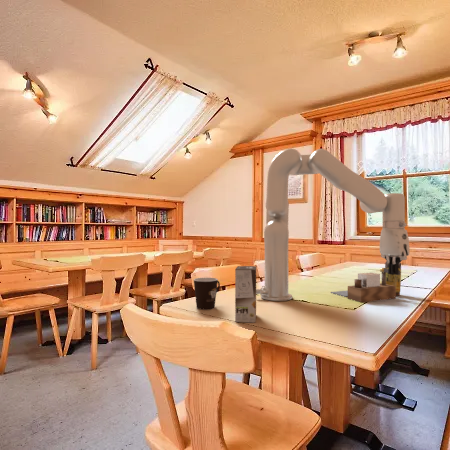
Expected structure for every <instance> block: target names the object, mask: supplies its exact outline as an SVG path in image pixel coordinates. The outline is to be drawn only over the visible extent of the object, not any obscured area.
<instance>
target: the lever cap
mask: <svg viewBox="0 0 450 450" xmlns="http://www.w3.org/2000/svg"><path fill="white" fill-rule="evenodd" d="M357 279H361V280H362V287H365V288H372V287H380V283H381V274H380V273H375V272H364V273H363V272H362V273H361V272H360V273H357Z"/></svg>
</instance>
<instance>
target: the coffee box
mask: <svg viewBox="0 0 450 450" xmlns="http://www.w3.org/2000/svg"><path fill="white" fill-rule="evenodd" d="M234 272H235V274H234V275H235V279H234V280H235V281H234V282H235V283H234V284H235V285H234V289H235V291H234V292H235V294H234V295H235V297H234V298H235V301H234V303H235V305H234V306H235V307H234V308H235V309H234V311H235V312H234V313H235V315H234V316H235V317H234V322H236V323H256V318H257V317H256V316H257V294H256V289H257V266H256V265H254V266H253V265H237V267H235V271H234Z"/></svg>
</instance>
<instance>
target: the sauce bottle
mask: <svg viewBox="0 0 450 450" xmlns="http://www.w3.org/2000/svg"><path fill="white" fill-rule="evenodd" d="M384 265H385V266H384V268H388V263H387V261H386V260H385V263H384ZM399 271H401V272H402V263H401V262H400V264H399ZM401 282H402V274H401V275H391V274H388V273H386V284H388V285H393V286H396V297H398V296H400V294H401V284H402V283H401Z"/></svg>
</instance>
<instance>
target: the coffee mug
mask: <svg viewBox="0 0 450 450" xmlns="http://www.w3.org/2000/svg"><path fill="white" fill-rule="evenodd" d="M193 285H194V286H193V287H194V294H195V303H196V309H198V310H204V311H207V310H213V309H215V307H216V299H217V298H216V297H217V293H218V292H219V289H220V288H221V283H220V281H219V279H218V278H216V277H197V278H194V279H193Z"/></svg>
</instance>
